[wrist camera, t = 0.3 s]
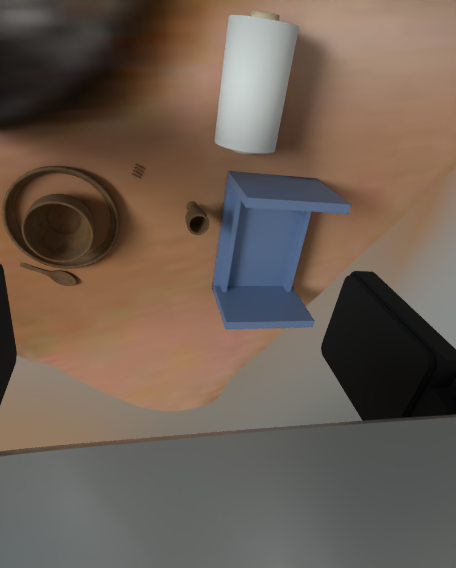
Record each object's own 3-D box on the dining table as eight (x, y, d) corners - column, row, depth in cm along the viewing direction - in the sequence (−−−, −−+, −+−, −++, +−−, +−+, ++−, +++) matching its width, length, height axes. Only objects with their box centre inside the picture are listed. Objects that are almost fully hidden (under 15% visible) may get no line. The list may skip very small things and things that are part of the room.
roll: (222, 9, 36) (239, 4, 31) (286, 21, 38) (311, 18, 32) (208, 141, 42) (220, 156, 37) (263, 147, 44) (282, 161, 38)
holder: (228, 171, 44) (247, 197, 37) (316, 178, 47) (351, 204, 40) (212, 288, 52) (225, 329, 45) (288, 288, 55) (312, 327, 48)
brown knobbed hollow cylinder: (30, 114, 38) (14, 125, 33) (209, 195, 46) (218, 213, 41) (-10, 259, 44) (-28, 286, 40) (152, 307, 53) (154, 335, 48)
